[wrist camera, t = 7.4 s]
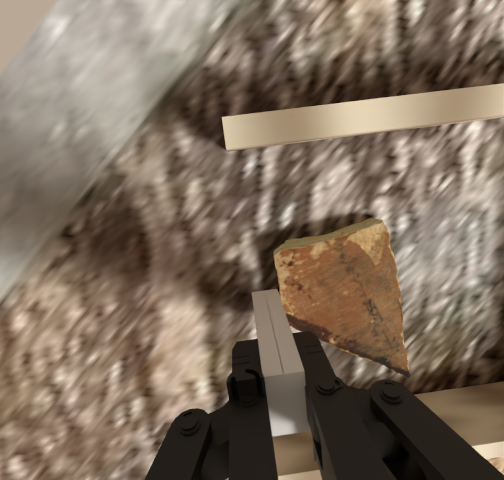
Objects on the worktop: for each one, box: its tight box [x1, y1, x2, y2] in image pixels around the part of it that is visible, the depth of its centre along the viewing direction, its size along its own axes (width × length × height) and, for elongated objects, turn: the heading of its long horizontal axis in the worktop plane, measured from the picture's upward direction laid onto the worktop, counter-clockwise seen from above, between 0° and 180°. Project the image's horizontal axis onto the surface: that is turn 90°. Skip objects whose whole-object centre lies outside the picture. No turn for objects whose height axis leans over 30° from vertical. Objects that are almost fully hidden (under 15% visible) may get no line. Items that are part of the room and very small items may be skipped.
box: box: [222, 83, 504, 480], centre depth 16 cm, size 20×20×4 cm
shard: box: [273, 218, 410, 377], centre depth 18 cm, size 11×8×2 cm
